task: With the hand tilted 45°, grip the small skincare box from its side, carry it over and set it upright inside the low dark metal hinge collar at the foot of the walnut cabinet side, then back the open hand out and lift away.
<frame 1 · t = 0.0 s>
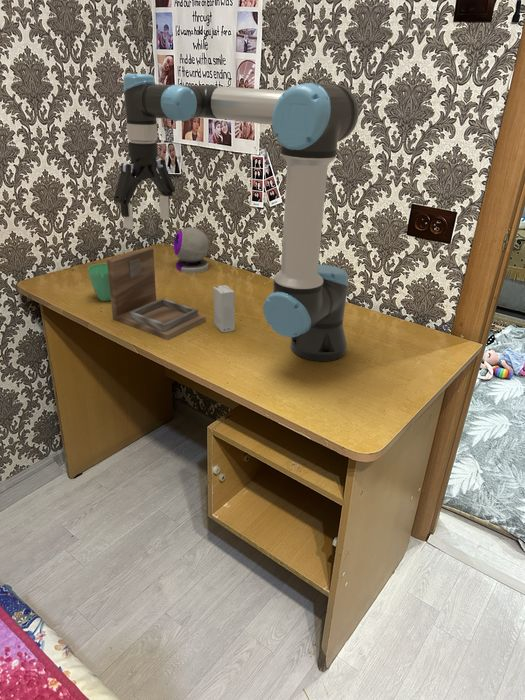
hand: (147, 223, 146), 28 cm above the table, tool pointing down, fingers open, 13 cm apart
mug: (114, 296, 172), on the table
hinge mount: (164, 321, 156), on the table
skincare box: (223, 328, 154), on the table
webcam: (191, 267, 200), on the table
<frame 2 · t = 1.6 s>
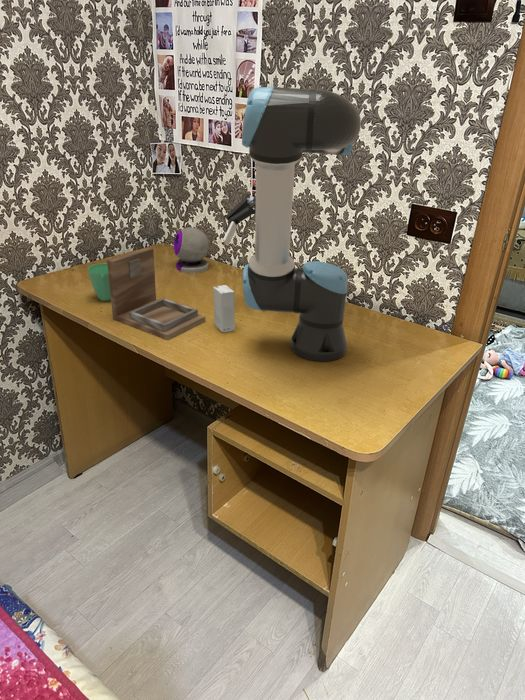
hand: (245, 247, 152), 22 cm above the table, tool tilted 45°, fingers open, 13 cm apart
nothing on the table moved.
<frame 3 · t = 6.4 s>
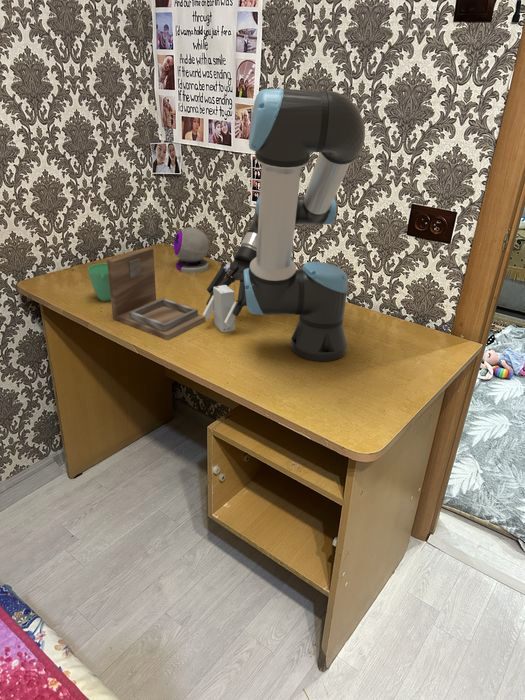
hand: (216, 320, 150), 4 cm above the table, tool tilted 45°, fingers closed on skincare box, 7 cm apart
skincare box: (223, 328, 154), on the table, touching gripper
everything else where it was.
when the fingers open (6 cm above the table, at t = 12.4 s): skincare box stays where it is, resting on hinge mount.
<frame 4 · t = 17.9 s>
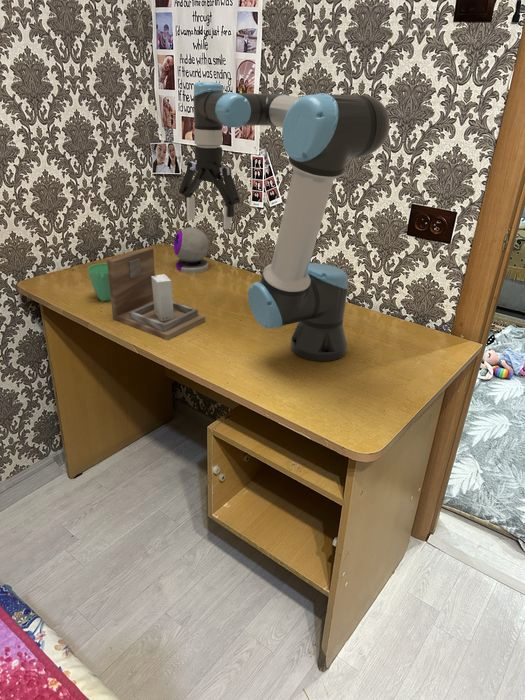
hand: (209, 223, 153), 27 cm above the table, tool pointing down, fingers open, 13 cm apart
skincare box: (163, 317, 156), point 1 cm above the table, touching hinge mount
everything else where it was.
at the end: skincare box inside the target area on the hinge mount (0.2 cm from its centre), point 1.3 cm above the hinge mount's base; skincare box tilted 0°; the gripper is holding nothing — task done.
